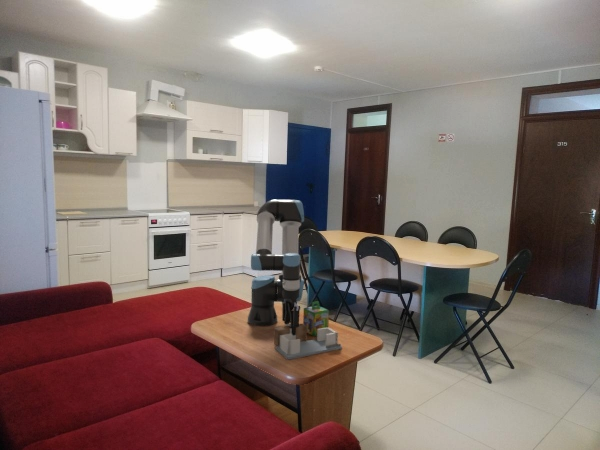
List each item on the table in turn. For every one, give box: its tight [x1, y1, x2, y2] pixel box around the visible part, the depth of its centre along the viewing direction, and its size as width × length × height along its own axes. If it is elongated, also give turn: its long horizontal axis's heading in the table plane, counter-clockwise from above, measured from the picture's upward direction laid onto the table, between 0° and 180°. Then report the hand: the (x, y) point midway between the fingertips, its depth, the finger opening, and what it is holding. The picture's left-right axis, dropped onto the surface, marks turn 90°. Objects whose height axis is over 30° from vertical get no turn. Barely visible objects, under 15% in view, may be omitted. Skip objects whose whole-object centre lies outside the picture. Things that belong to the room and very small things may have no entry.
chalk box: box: [302, 300, 330, 337], centre depth 192 cm, size 9×9×15 cm
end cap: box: [316, 326, 339, 346], centre depth 176 cm, size 8×6×5 cm
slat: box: [273, 323, 307, 346], centre depth 179 cm, size 14×4×7 cm, turn 119°
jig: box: [274, 334, 343, 360], centre depth 172 cm, size 12×26×6 cm, turn 118°
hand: (290, 339), depth 179 cm, fingers closed on slat, 4 cm apart
